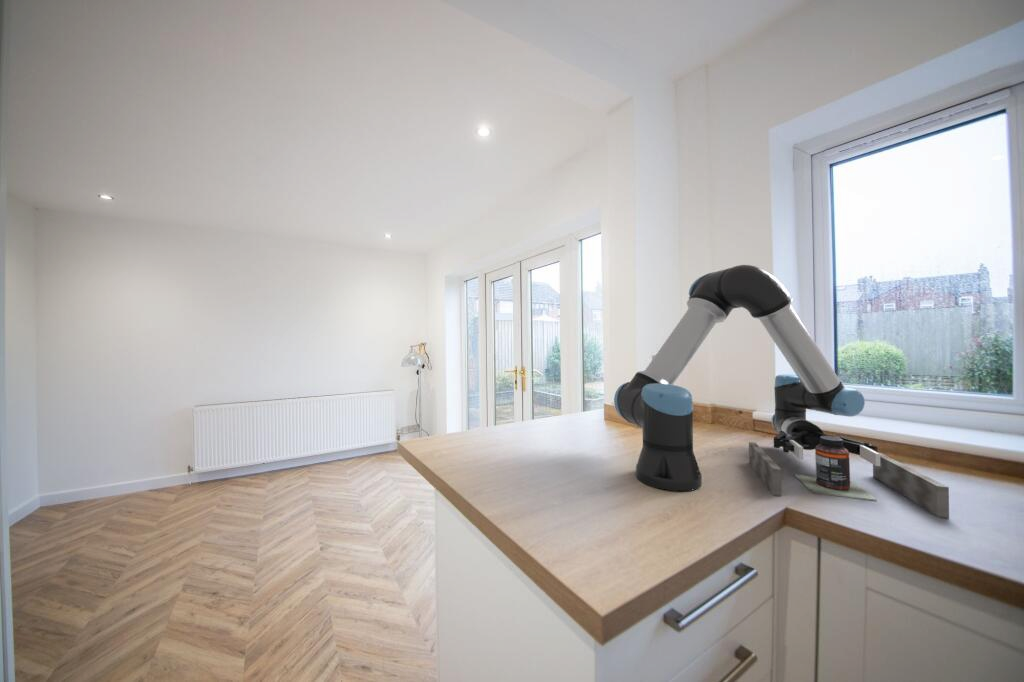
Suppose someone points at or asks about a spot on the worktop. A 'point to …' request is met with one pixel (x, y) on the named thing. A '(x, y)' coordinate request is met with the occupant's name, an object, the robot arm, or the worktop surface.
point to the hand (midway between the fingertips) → (838, 456)
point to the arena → (888, 472)
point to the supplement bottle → (832, 463)
